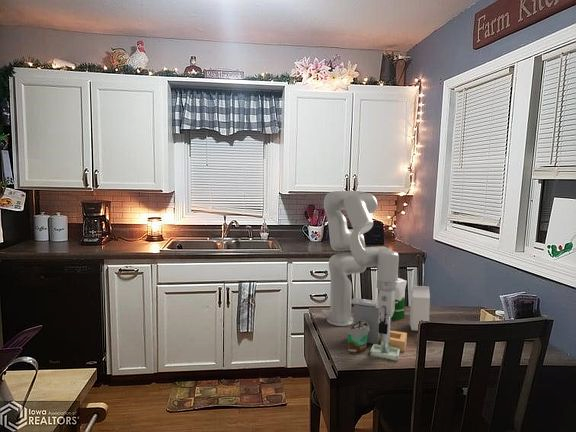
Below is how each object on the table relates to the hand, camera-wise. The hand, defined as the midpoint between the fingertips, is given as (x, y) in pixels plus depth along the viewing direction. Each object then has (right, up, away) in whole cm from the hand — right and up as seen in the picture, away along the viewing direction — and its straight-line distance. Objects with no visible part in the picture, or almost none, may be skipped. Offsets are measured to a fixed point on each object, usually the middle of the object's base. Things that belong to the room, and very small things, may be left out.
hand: (384, 328), depth 145 cm
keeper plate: (-5, +7, +11) cm, 14 cm away
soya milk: (+14, -6, +39) cm, 42 cm away
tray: (0, -10, 0) cm, 10 cm away
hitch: (0, -9, +11) cm, 14 cm away
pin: (0, -9, 0) cm, 9 cm away
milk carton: (+22, -8, +26) cm, 34 cm away
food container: (-8, -10, +4) cm, 14 cm away
